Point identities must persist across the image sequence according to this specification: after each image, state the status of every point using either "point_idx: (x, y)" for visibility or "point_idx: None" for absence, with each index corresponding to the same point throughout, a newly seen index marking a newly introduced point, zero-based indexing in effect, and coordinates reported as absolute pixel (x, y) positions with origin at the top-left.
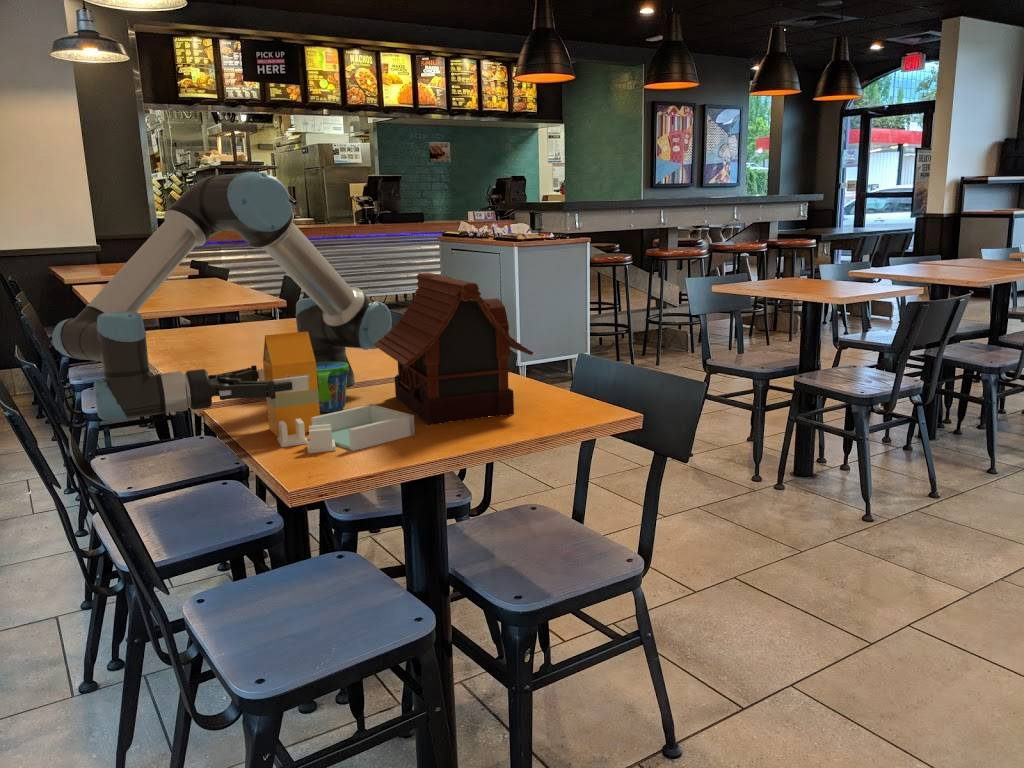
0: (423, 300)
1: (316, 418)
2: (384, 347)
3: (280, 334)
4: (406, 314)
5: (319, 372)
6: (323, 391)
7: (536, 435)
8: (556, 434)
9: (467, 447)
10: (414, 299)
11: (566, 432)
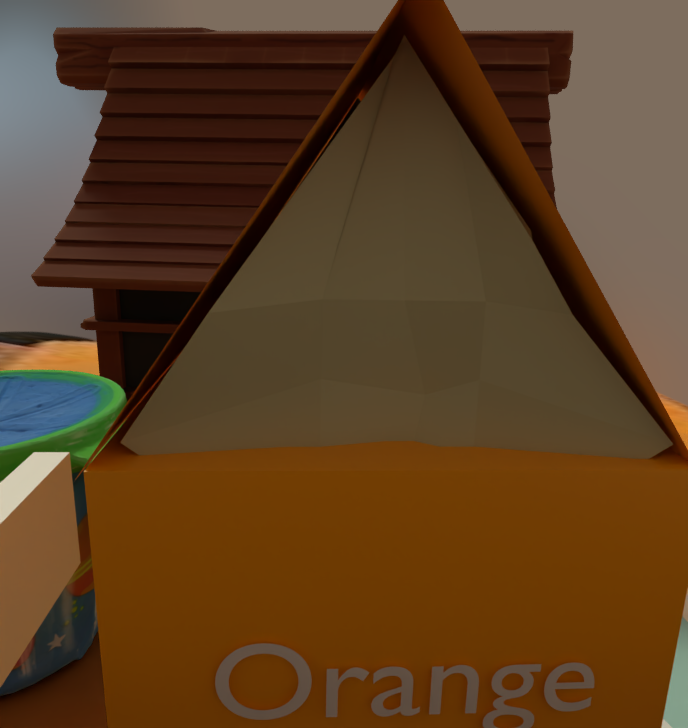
0: (231, 104)
1: (666, 724)
2: (189, 272)
3: (386, 40)
4: (128, 158)
5: (83, 446)
6: None
7: (683, 416)
8: (677, 403)
9: None
10: (130, 108)
11: (662, 395)
